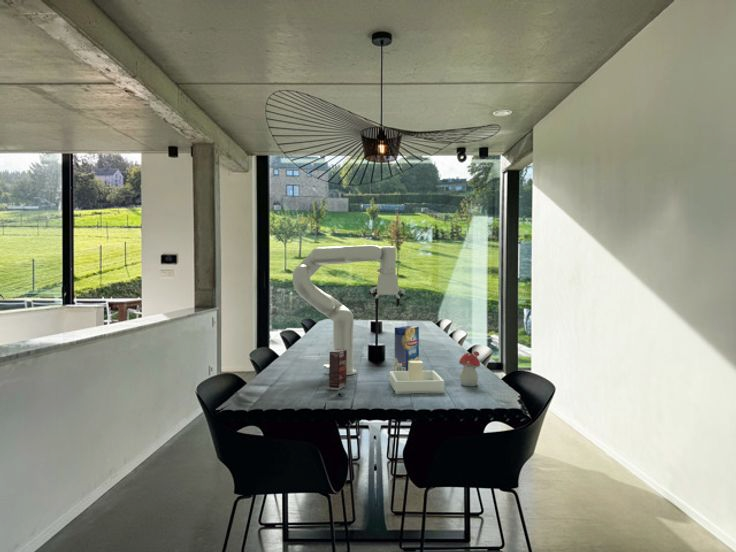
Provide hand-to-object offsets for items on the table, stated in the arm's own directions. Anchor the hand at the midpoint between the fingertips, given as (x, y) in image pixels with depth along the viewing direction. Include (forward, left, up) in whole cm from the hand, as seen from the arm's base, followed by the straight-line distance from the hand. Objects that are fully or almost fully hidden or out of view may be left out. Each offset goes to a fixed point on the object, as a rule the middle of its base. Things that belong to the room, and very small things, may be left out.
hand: (387, 306), depth 264 cm
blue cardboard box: (+9, -1, -32) cm, 34 cm away
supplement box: (-25, -33, -32) cm, 52 cm away
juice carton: (+8, -35, -31) cm, 47 cm away
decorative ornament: (+32, -32, -32) cm, 56 cm away
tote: (+8, -35, -32) cm, 48 cm away
